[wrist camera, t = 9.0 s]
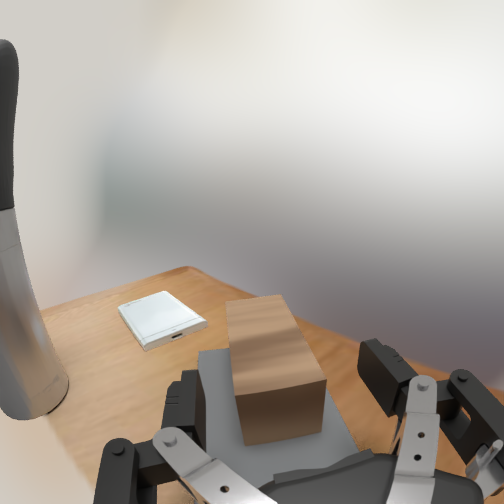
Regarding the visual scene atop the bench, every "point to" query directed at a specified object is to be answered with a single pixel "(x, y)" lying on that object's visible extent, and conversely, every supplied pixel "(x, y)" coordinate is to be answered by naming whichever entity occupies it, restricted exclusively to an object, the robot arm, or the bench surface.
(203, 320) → the hard drive
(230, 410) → the rubber mat
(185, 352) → the bench surface
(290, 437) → the light brown wooden block
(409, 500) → the robot arm
